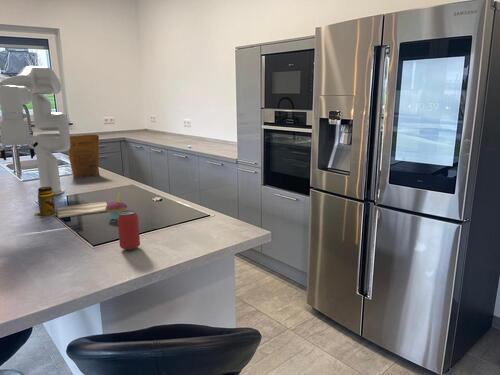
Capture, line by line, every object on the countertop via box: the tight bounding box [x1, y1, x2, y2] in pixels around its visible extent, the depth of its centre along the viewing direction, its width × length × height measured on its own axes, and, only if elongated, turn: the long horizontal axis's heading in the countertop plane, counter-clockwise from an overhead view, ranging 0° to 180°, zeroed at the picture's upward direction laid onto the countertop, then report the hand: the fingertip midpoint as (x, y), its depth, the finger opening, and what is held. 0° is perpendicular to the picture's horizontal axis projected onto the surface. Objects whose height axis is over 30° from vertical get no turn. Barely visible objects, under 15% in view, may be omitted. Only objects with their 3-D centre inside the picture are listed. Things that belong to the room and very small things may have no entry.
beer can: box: [117, 209, 141, 250], centre depth 128 cm, size 7×7×12 cm
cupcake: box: [106, 191, 128, 221], centre depth 160 cm, size 9×8×12 cm
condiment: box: [34, 187, 58, 219], centre depth 166 cm, size 7×8×12 cm
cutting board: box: [57, 201, 108, 219], centre depth 173 cm, size 16×21×1 cm
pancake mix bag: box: [67, 134, 101, 178], centre depth 243 cm, size 7×19×28 cm, turn 113°
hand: (18, 159), depth 157 cm, fingers open, 9 cm apart
